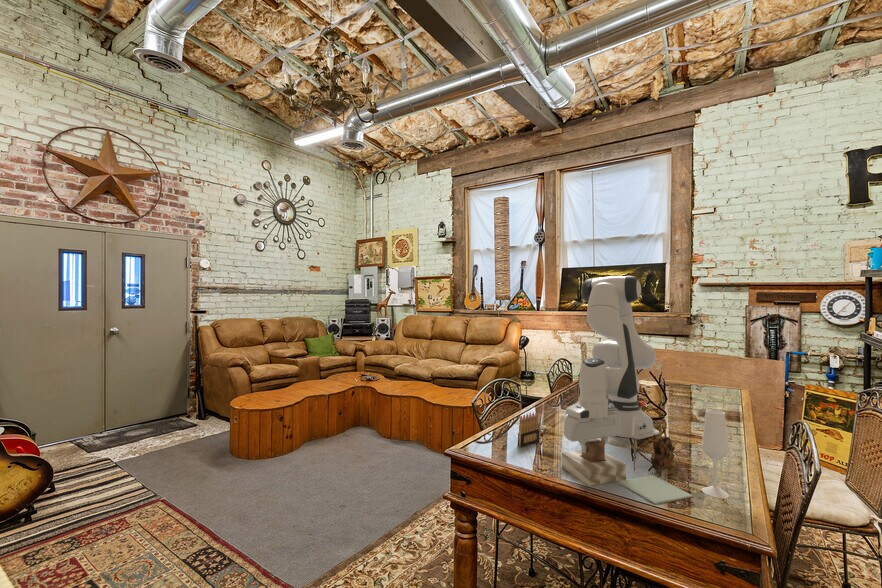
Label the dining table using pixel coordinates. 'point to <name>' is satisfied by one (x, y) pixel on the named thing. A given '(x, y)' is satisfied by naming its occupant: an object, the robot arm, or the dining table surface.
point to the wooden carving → (662, 452)
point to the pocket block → (593, 468)
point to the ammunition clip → (528, 430)
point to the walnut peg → (594, 451)
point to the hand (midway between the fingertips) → (593, 451)
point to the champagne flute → (715, 447)
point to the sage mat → (654, 489)
